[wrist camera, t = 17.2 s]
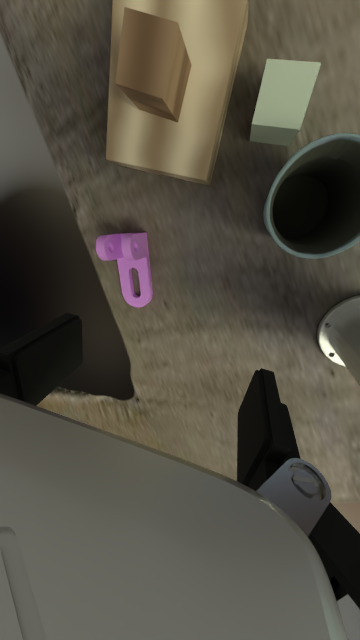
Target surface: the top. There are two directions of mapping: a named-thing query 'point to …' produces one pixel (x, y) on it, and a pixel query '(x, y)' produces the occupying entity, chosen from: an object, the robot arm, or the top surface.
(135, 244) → the bracket
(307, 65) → the sage cube
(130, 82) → the walnut cube
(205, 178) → the birch block
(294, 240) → the teal cylinder
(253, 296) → the top surface
